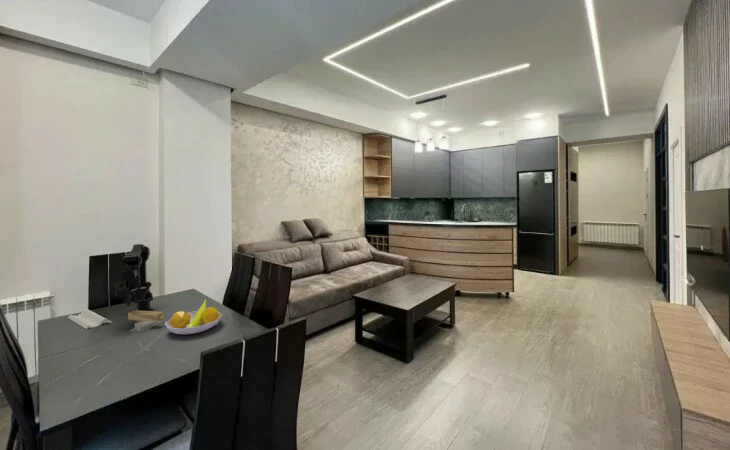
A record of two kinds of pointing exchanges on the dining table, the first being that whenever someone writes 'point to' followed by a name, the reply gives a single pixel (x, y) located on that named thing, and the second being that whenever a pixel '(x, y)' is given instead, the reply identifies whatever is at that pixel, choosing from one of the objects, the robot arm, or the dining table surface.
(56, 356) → the dining table surface
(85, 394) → the dining table surface
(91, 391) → the dining table surface
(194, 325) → the fruit bowl
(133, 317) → the oak batten
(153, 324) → the fulcrum stand
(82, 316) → the crown molding
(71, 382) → the dining table surface
